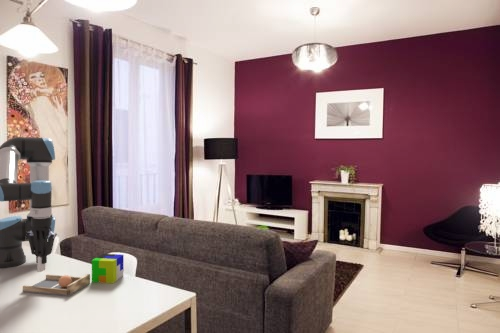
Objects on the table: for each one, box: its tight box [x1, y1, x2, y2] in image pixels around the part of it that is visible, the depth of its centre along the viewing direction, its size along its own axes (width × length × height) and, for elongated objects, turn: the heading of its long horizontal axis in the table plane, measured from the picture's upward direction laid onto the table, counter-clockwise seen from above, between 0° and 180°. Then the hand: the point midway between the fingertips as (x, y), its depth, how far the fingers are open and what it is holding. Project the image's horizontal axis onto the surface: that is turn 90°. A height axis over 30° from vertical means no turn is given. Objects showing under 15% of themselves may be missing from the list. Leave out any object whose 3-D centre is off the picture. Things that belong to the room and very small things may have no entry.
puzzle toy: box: [91, 253, 124, 284], centre depth 162 cm, size 10×10×10 cm
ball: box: [58, 274, 72, 288], centre depth 149 cm, size 5×5×5 cm
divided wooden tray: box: [22, 273, 91, 296], centre depth 150 cm, size 14×21×4 cm, turn 82°
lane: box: [22, 278, 91, 297], centre depth 150 cm, size 14×21×1 cm, turn 82°
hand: (41, 270), depth 152 cm, fingers closed
